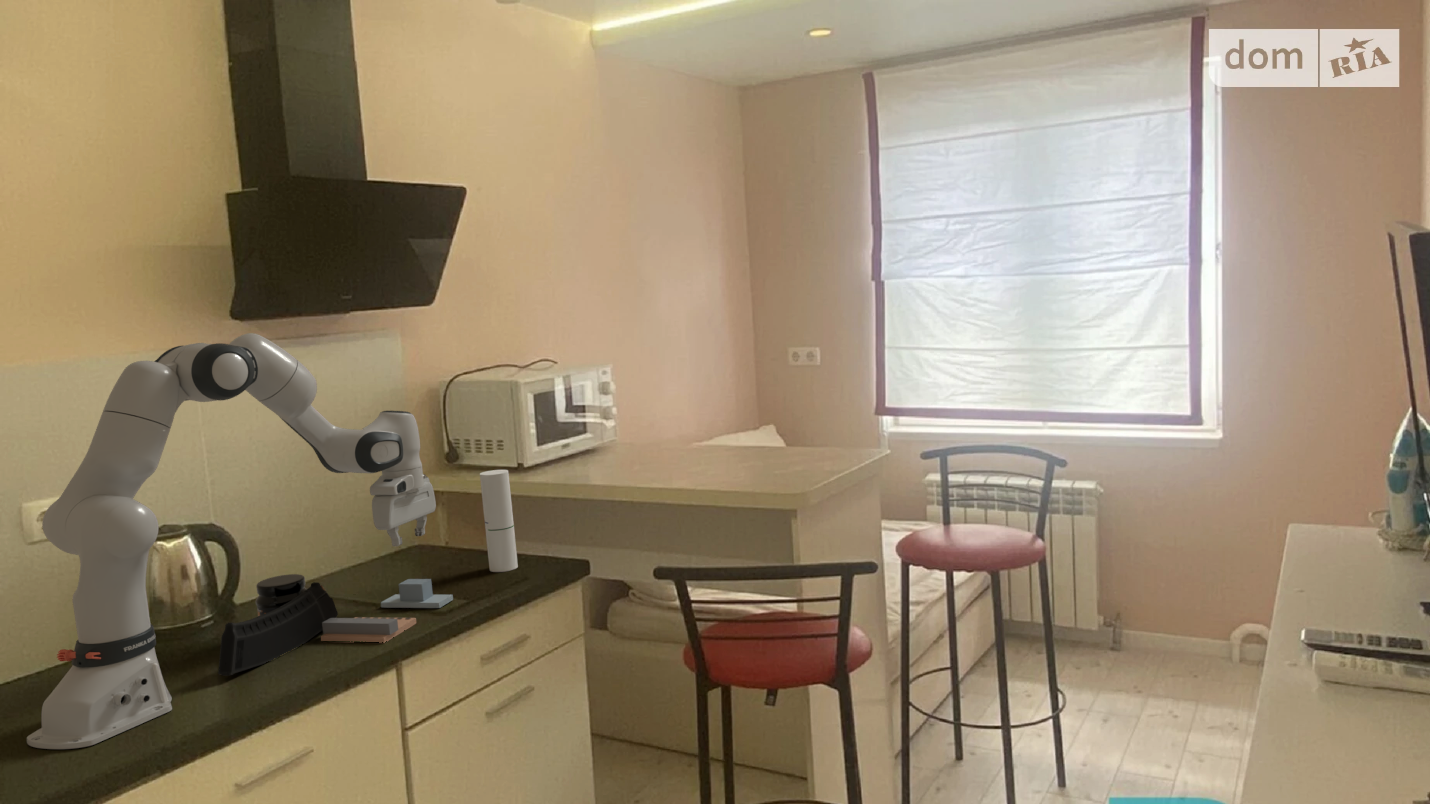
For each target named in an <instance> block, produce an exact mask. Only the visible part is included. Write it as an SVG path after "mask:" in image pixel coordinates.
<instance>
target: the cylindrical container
mask: <svg viewBox="0 0 1430 804" xmlns="http://www.w3.org/2000/svg"><path fill="white" fill-rule="evenodd" d="M479 480H480V491H481V498H482V499H481V500H482V509H483V518H484V519H483V520H484V528H485V529H484V530H485V539H486V547H487V558H488V566H489V571H490V572H493V573H505V572H509V571H513V570H516V569H517V568H518V567H519V565H518V553H517V545H516V534H515V523H514V515H513V514H514V513H513V503H512V494H511V485H510V474H509V470H508V469H494V470H486V471H482V472H480V473H479Z"/></svg>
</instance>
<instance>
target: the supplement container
mask: <svg viewBox="0 0 1430 804" xmlns="http://www.w3.org/2000/svg"><path fill="white" fill-rule="evenodd" d="M255 586H256V593H257V594H258V596H257V598H256V599H255V605H256V609H257V617H258V616H261V615H263V614H266V613H268V612H271V611H273V610H275V609H277V608H279V607H281V606H283V605H284V604H286V603H288V602H290V601H291V600H293V599H294V598H296V597H297V596H299V595H300V594H301V593H303V592H304V591H305V590H307V589H308V588H306V587H305V586H306V579H305V576H304V575H303V574H299V573H297V574H295V573H292V574H281V575H276V576H272V577H268V578H264V579H263V580H261V581H258V583H257V584H256V585H255Z"/></svg>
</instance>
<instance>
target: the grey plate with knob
mask: <svg viewBox="0 0 1430 804" xmlns="http://www.w3.org/2000/svg"><path fill="white" fill-rule="evenodd" d="M432 584H433V582H432V578H408V579H406V580H404V581H401V582H400V583H398V592H399V593H398V594H396V593H395V594H393V595H392V596H390V597H388V598H386V599H384V600H382V601H380V607H381V608H383V609H384V608H388V609H389V608H390V609H391V608H395V609H396V608H398V609H399V608H402V609H406V608H407V609H409V608H410V609H441V608H443V606H446V605H447V604H449V603H450V602H451V601H454V596H453V594H434V593H433V585H432Z"/></svg>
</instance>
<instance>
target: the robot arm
mask: <svg viewBox="0 0 1430 804" xmlns="http://www.w3.org/2000/svg"><path fill="white" fill-rule="evenodd" d="M245 391H246V392H247V393H248V394H250V396H251V397H253V398H255V399H256V400H257V401H258V402H259V403H261V404H262V405H263V406H264V407H266V408H268V409H269V410H270V411H271V412H272V413H274V414H275V415H276V416H277V417H279V418H280V419H281V421H282V422H284V423H285V424H286V425H287V426H288V427H289V428H290V429H292V430H293V431H294V432H295V433H296V434H298V436H299V437H300V438H302V440H304V441H305V442H306V443H307V444H308V445H309V446H310V447H311V448H312V449H313V451H314V453H315V455H316V456H317V458H318V460H319V462H320V464H322V466H323V467H324V468H325V469H326V470H327V471H330V472H332V473H333V474H334V473H336V474H347V473H353V474H376V473H379V472H381V475H380V476H379V477H378V478H377V480H376V481H374V482H373V484H371V486H370V487H369V493H370V495H371V496H373V498H372V500H371V511H372V512H371V514H372V519H373V521H372V522H373V524H374V527H375V528H376V530H378V531H379V530H380V531H381V530H382V531H386V532H387V534H388V536H389V538H390V540H391V545H392V547H399V546H401V545H403V537H402V536H400V534H399V530H400V526H402V525H405V524H406V523H407V524H408V523H409V522H412V521H415V520H416V528H414V536H416V537H422V536H424V535H425V534H426V525H427V520H428V515H429V514H431V513H434V512H435V511H436V508H437V502H436V496H435V490H434V487H433V485H432V483H431V482H430V481H431V480H430V477H428V475H426V474H424V470H423V463H422V460H421V457H420V451H421V440H420V431H419V426H418V422H417V420H416V417H415V416H414V414H413V413H411V412H409V411H404V410H383V411H381V412H379V414H378V415H377V417H376V418H375V419H374V420H373V421H372V422H371V423H370V424H368V425H367V426H365V427H363V428H361V429H355V428H354V429H351V428H344V427H340V426H336V425H334V424H332V423H331V422H330V421H329V420H328V419H327V418H325V416H323V414H321V413H320V412H319V411H318V410H317V409H316V408H315V407H314V406H313V404H312V403H313V402H314V400H315V398H316V396H317V393H318V392H317V391H318V383H317V379H316V377H315V376H314V375H313V374H312V372H311V371H310V370H309V369H308V368H307V366H305V365H304V364H303V363H302V362H301V361H299V360H298V359H297V358H296V357H294V356H293V355H292V354H291V353H289V352H288V351H287V350H285V349H284V348H282V347H281V346H279V345H278V344H276V343H275V342H273V341H271V340H270V339H268V338H266V337H264V336H262V335H261V334H258V333H252V332H251V333H250V332H249V333H244V334H241V335H240V336H237V337H235V339H233V340H232V341H231V342H230V343H221V342H220V343H219V342H218V343H216V342H215V343H204V342H197V343H190V344H185V345H178V346H174V347H171V348H169V349H167V350H166V351H165V352H163V353H162V354H161V355H160V356H158V357H157V358H156V360H154V361H153V360H139V361H133V362H131V363H130V364H128V365H127V366H126V367H125V368H124V370H123V371H122V373H120V375H119V377H118V379H117V381H116V383H114V386H113V388H112V389H111V392H110V393H109V396H108V398H107V400H106V402H105V405H104V407H103V410H102V412H101V415H100V419H99V420H98V423H97V426H96V428H95V431H94V435H93V437H92V438H91V443H90V445H89V448H88V450H87V451H86V454H85V456H84V458H83V460H82V461H81V463H80V465H79V466H78V468H77V469H76V472H75V473H74V475H73V476H72V478H71V479H70V481H69V482H68V484H67V485H66V487H65V489H64V490H63V492H62V493H61V494H60V496H59V498H58V499H56V500H55V501H54V502H52V504H51V505H50V506H49V507H48V508H47V510H46V511H45V513H44V515H43V518H42V522H41V524H42V527H41V528H42V531H43V534H44V536H45V537H46V539H47V540H48V541H49V542H50V544H52V545H53V546H55V547H56V548H58V550H60V551H62V552H64V553H67V554H71V555H76V556H78V558H79V564H80V566H79V574H78V575H79V577H78V583H77V587H76V589H75V591H74V593H73V595H72V598H71V599H72V607H73V613H74V614H73V615H74V620H75V627H76V628H75V629H76V633H77V640H76V642H75V645H74V649H65V648H62V649H60V650H58V651H57V654H56V658H57V660H58V661H59V662H71V665H72V666H71V667H70V668H69V670H68V671H67V673H65V675H64V676H63V678H62V679H61V680H60V682H59V683H58V684H57V685H56V686H55V688H53V690H52V692H51V693H50V694H49V695H48V696H47V697H46V698H45V700H44V702H43V703H42V707H41V716H40V717H41V721H40V722H41V728H39V729H37V730H36V731H33V732H32V733H31V734H29V735H28V736H27V737H26V744H27V745H28V746H30V747H33V748H37V749H45V750H46V749H47V750H71V749H79V748H86V747H91V746H93V745H96V744H98V743H101V742H102V741H105V740H108V739H109V738H112V737H114V736H116V735H119V734H121V733H123V732H126V731H128V730H130V729H133V728H135V727H137V726H139V725H142V724H143V723H144V724H145V723H146V722H148V721H151V720H152V719H153V720H154V719H155V718H157V717H160V716H163V715H165V714H166V713H170V711H171V712H172V710H173V706H172V703H171V702H172V699H173V698H172V695H171V694H170V691H169V690H168V687H167V685H166V683H165V680H164V677H163V674H162V670H161V668H160V663H159V660H158V658H157V654H156V649H155V648H156V647H155V646H156V645H157V640H156V639H157V638H156V633H155V627H154V625H153V624H152V623H151V617H150V610H149V603H148V596H147V588H146V587H147V584H146V583H147V582H146V581H147V569H148V560H149V554H150V549H151V548H152V547H153V545H154V544H155V542H156V540H157V538H158V535H159V521H158V518H157V515H156V514H155V513H154V512H153V510H152V509H151V508H149V507H147V506H146V505H145V504H143V503H141V502H140V501H138V500H136V499H134V498H135V496H136V494H137V493H138V491H139V490H140V488H141V487H142V486H143V484H144V483H145V482H146V481H147V479H149V478H150V477H151V476H152V475H153V474H154V473H155V472H156V470H157V469H158V466H159V464H160V461H161V458H162V454H163V452H164V449H165V446H166V443H167V440H168V437H169V435H170V431H171V428H172V426H173V423H174V419H175V415H176V413H177V411H178V409H179V408H180V407H181V405H182V404H183V403H184V402H186V401H192V402H198V403H199V402H200V403H208V402H217V401H228V400H230V399H233V398H235V397H238V396H239V395H241V394H242V393H243V392H245Z"/></svg>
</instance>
